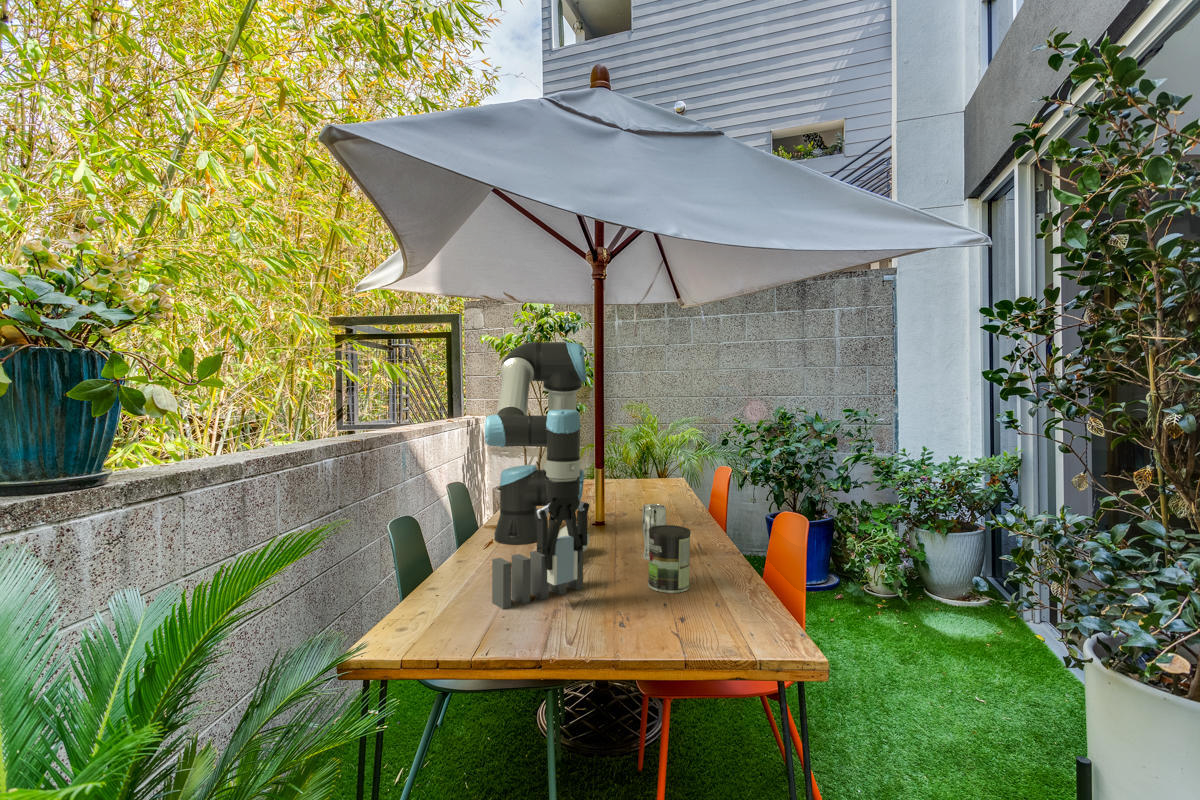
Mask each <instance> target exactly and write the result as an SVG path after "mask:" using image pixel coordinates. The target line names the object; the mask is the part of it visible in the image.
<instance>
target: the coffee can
mask: <svg viewBox="0 0 1200 800" xmlns="http://www.w3.org/2000/svg"><path fill="white" fill-rule="evenodd" d="M691 533H692V531H691V530H690V529H689V528H687V527H684V526H680V525H674V524H673V525H671V524H666V525H659V526H654V527H651V528H649V560H648V583H647V586H648V588H649V589H650V588H651V589H650V590H653V591H654V590H655V592H657V591H659V592H658V593H662V592H663V593H662V594H680V592H681V593H684V591H685V592H686V591H688V590H690V557H691V556H690V555H691V554H690V552H691V549H690V548H691Z"/></svg>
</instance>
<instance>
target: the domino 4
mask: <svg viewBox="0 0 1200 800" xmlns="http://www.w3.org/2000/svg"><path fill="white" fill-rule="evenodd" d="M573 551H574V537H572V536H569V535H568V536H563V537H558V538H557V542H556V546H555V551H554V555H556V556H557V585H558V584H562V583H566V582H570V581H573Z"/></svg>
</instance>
